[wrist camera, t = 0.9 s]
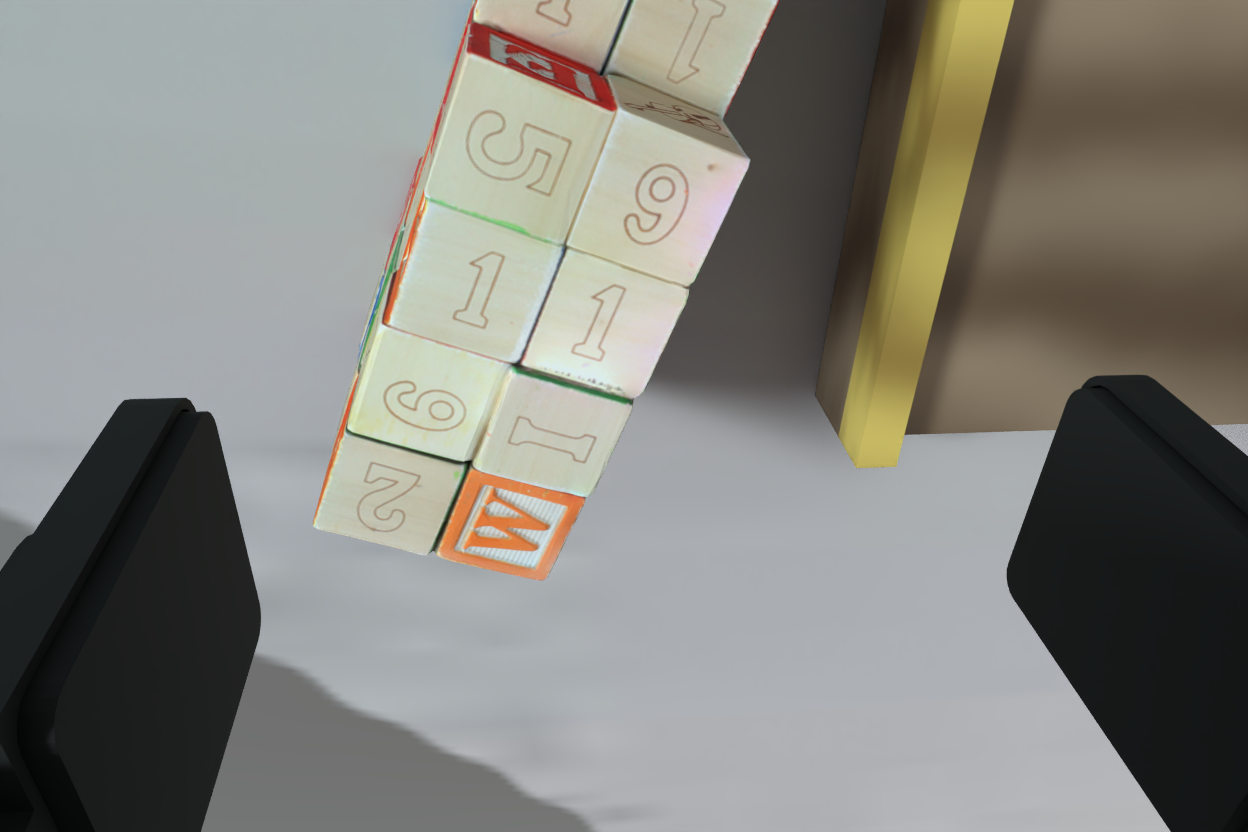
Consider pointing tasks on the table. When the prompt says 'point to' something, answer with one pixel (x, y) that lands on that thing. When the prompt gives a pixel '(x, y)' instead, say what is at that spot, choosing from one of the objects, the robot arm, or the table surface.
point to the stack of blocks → (538, 271)
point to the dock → (1042, 217)
